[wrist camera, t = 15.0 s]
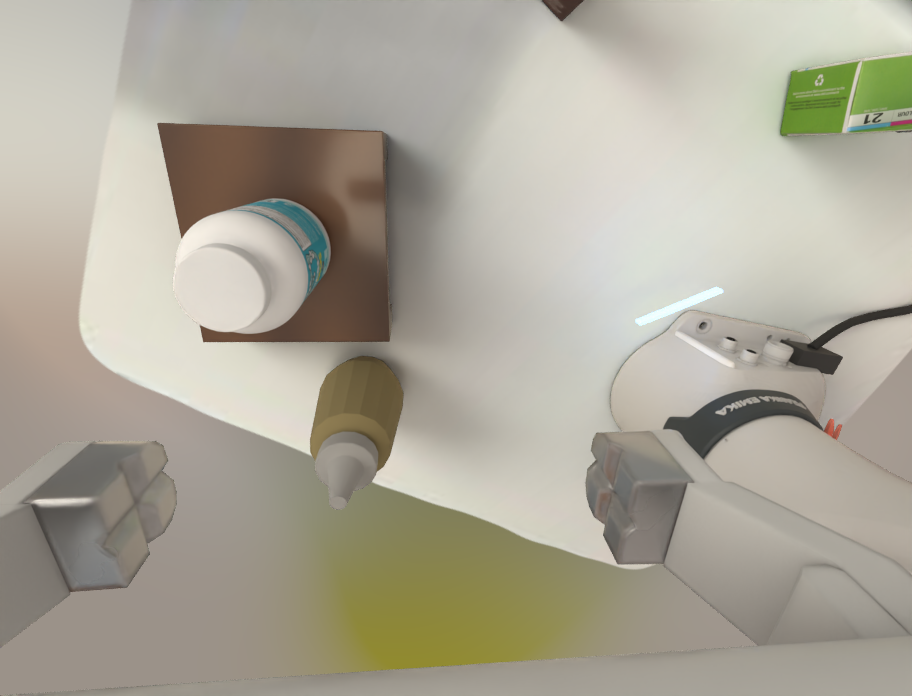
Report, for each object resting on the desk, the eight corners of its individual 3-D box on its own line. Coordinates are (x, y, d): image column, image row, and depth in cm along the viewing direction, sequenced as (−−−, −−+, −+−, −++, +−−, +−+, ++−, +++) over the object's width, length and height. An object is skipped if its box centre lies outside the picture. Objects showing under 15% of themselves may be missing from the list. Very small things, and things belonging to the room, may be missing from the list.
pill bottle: (294, 307, 38) (236, 381, 26) (218, 246, 36) (112, 295, 23) (352, 244, 36) (319, 290, 24) (276, 175, 34) (195, 187, 21)
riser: (387, 133, 38) (382, 131, 33) (392, 322, 45) (389, 341, 40) (189, 126, 36) (156, 122, 32) (225, 322, 43) (203, 342, 39)
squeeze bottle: (320, 404, 48) (268, 536, 31) (335, 336, 45) (286, 442, 28) (394, 420, 49) (382, 554, 33) (413, 355, 46) (411, 467, 30)
